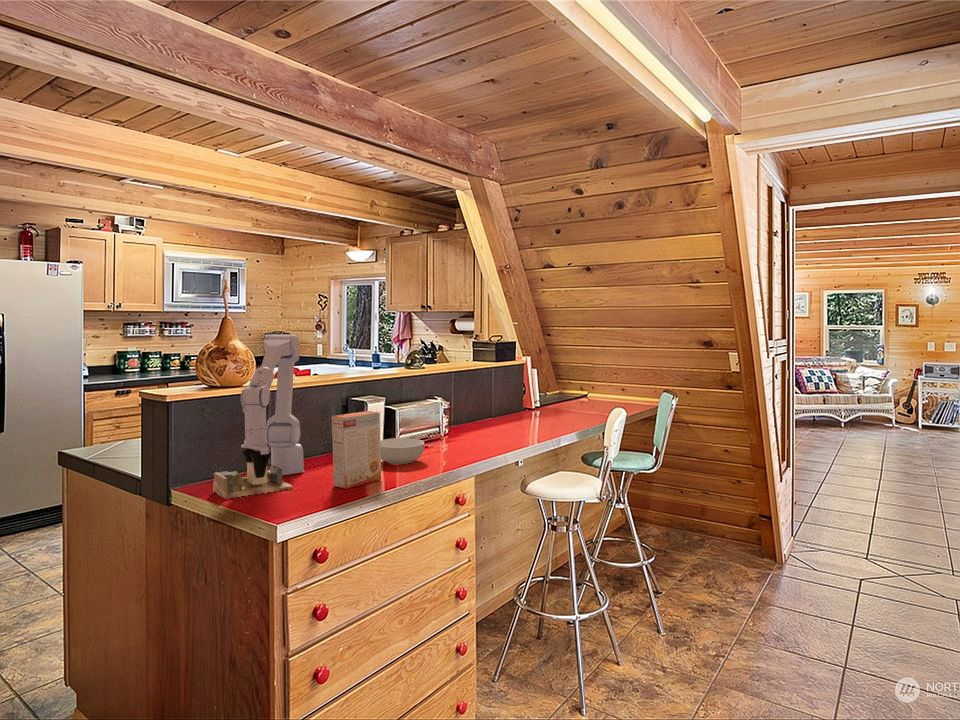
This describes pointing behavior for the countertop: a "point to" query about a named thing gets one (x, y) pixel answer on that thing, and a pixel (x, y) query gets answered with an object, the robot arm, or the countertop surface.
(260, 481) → the beige wooden cube
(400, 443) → the cereal bowl
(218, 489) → the shelf
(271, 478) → the bookend
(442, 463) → the countertop surface
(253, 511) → the countertop surface
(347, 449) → the cracker box
